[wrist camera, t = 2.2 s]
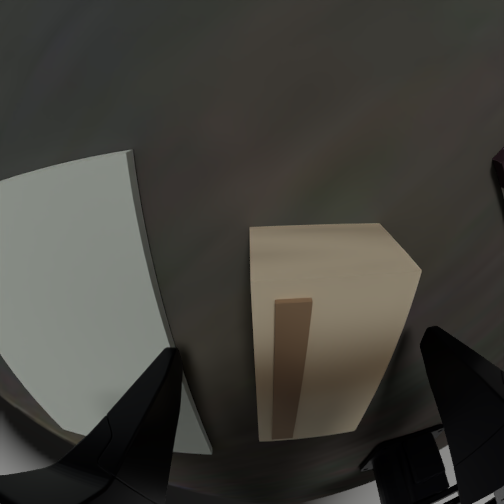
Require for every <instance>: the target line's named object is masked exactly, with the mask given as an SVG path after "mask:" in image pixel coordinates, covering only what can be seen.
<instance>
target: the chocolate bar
mask: <svg viewBox="0 0 504 504" xmlns="http://www.w3.org/2000/svg"><path fill="white" fill-rule="evenodd" d="M492 160H493V163H494V166H495V169H496V172H497V175H498V179H499V182H500V186H501V189H502V193H503V197H504V147H503V148H502V149H501V150H500V151H499V152H498V153H497V155H496V156H495V157H494V158H493V159H492Z"/></svg>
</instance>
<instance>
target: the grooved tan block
mask: <svg viewBox="0 0 504 504" xmlns="http://www.w3.org/2000/svg"><path fill="white" fill-rule="evenodd" d="M421 272H422V270H421V269H420V268H419V267H418V265H417V264H416V263H415V262H414V261H413V260H412V258H411V257H410V256H409V255H408V254H407V253H406V252H405V251H404V249H403V248H402V247H401V246H400V245H399V244H398V243H397V242H396V241H395V239H394V238H393V237H392V236H391V235H390V234H389V233H388V232H387V231H386V230H385V229H384V228H383V227H382V226H381V225H380V223H370V224H325V225H292V226H265V227H250V281H251V300H252V320H253V339H254V357H255V376H256V395H257V413H258V431H259V442H261V441H280V440H292V439H302V438H311V437H319V436H327V435H333V434H339V433H345V432H351V431H355V430H356V428H357V426H358V424H359V423H360V421H361V419H362V417H363V415H364V413H365V412H366V410H367V408H368V406H369V404H370V402H371V400H372V398H373V396H374V394H375V392H376V390H377V388H378V386H379V384H380V382H381V379H382V377H383V375H384V373H385V371H386V369H387V366H388V364H389V362H390V359H391V357H392V355H393V352H394V350H395V347H396V345H397V343H398V340H399V337H400V335H401V332H402V330H403V327H404V324H405V322H406V319H407V316H408V313H409V310H410V307H411V304H412V301H413V298H414V295H415V292H416V289H417V286H418V282H419V279H420V275H421Z"/></svg>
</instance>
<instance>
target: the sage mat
mask: <svg viewBox="0 0 504 504" xmlns="http://www.w3.org/2000/svg"><path fill="white" fill-rule="evenodd" d="M166 347H175V344H174V341H173V337H172V334H171V331H170V327H169V324H168V320H167V317H166V313H165V309H164V306H163V302H162V298H161V294H160V290H159V286H158V282H157V278H156V274H155V270H154V266H153V261H152V257H151V252H150V248H149V243H148V238H147V233H146V228H145V223H144V218H143V213H142V207H141V201H140V195H139V189H138V183H137V176H136V170H135V162H134V155H133V149H132V150H126V151H120V152H114V153H109V154H103V155H98V156H93V157H88V158H84V159H79V160H75V161H70V162H66V163H62V164H58V165H54V166H50V167H46V168H42V169H38V170H35V171H31V172H28V173H24V174H21V175H18V176H14V177H11V178H8V179H5V180H2V181H0V354H1V356H2V357H3V358H4V360H5V361H6V363H7V364H8V366H9V367H10V368H11V370H12V371H13V372H14V374H15V375H16V376H17V378H18V379H19V380H20V381H21V383H22V384H23V385H24V386H25V388H26V389H27V390H28V391H29V393H30V394H31V395H32V396H33V397H34V398H35V400H36V401H37V402H38V403H39V404H40V405H41V406H42V407H43V409H44V410H45V411H46V412H47V413H48V414H49V415H50V416H51V417H52V418H53V419H54V420H55V421H56V422H57V423H58V424H59V425H60V426H61V427H62V428H63V429H65V430H68V431H71V432H75V433H78V434H82V435H85V436H86V435H88V434H89V433H90V432H91V431H92V430H93V428H94V427H95V426H96V425H97V424H98V423H99V422H100V421H101V420H102V419H103V417H104V416H107V413H108V412H109V411H110V410H111V408H112V407H113V406H114V405H115V404H116V403H117V402H118V401H119V399H120V398H121V397H122V396H123V395H124V394H125V393H126V391H127V390H128V389H129V388H130V387H131V386H132V385H133V384H134V382H135V381H136V380H137V379H138V378H139V377H140V376H141V374H142V373H143V372H144V371H145V370H146V369H147V368H148V367H149V365H150V364H151V363H152V362H153V361H154V360H155V359H156V357H157V356H158V355H159V354H160V353H161V352H162V351H163V350H164V348H166ZM173 452H181V453H193V454H210V455H212V446H211V444H210V441H209V439H208V436H207V434H206V432H205V429H204V427H203V424H202V421H201V419H200V416H199V414H198V411H197V408H196V406H195V403H194V400H193V398H192V395H191V392H190V389H189V386H188V384H187V381H186V378H185V375H184V372H183V377H182V392H181V407H180V414H179V419H178V425H177V430H176V436H175V442H174V448H173Z"/></svg>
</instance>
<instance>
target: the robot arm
mask: <svg viewBox="0 0 504 504" xmlns="http://www.w3.org/2000/svg"><path fill="white" fill-rule="evenodd" d="M420 349H421V353H422V356H423V360H424V364H425V368H426V372H427V376H428V380H429V383H430V386H431V389H432V392H433V395H434V398H435V401H436V404H437V407H438V410H439V414H440V417H441V420H442V424H441V425H439V426H436V427H433V428H431V429H428V430H425V431H422V432H419V433H416V434H413V435H410V436H406V437H403V438H400V439H396V440H393V441H389V442H385V443H382V444H380V445H379V446H378V447H377V448H376V449H375V450H374V452H373V453H372V454H371V455H370V456H369V457H368V459H367V460H366V461H365V462H364V463H363V464H362V465H361V466H360V471H366V470H370V469H373V471H374V475H375V479H376V483H377V488H378V492H379V497H380V502H381V504H433V503H435V502H438V501H440V500H442V499H444V498H446V497H448V496H449V495H452V494H454V493H455V492H458V495H459V496H457V497H456V498H454V499H452V500H450V501H448V502H445V503H444V504H472V503H474V502H476V501H478V500H480V499H482V498H484V497H486V496H487V495H489V494H491V493H493V492H494V495H495V497H494V498H492V499H491V500H489V501H488V502H486V503H485V504H504V371H502V370H500V369H499V368H498V367H496V366H495V365H494V364H492V363H491V362H489V361H488V360H487V359H485V358H484V357H482V356H481V355H479V354H478V353H477V352H475V351H474V350H472V349H471V348H469V347H468V346H466V345H465V344H463V343H462V342H460V341H459V340H458V339H456V338H455V337H453V336H452V335H450V334H449V333H447V332H446V331H444V330H443V329H441V328H440V327H438V326H432V327H428V328H427V329H426V331H425V333H424V336H423V338H422V340H421V343H420ZM182 377H183V363H182V360H181V356H180V353H179V350H178V349H177V348H176V347H166V348H164V350H163V351H162V352H161V353H160V354H159V355H158V356H157V357H156V359H155V360H154V361H153V362H152V363H151V364H150V365H149V367H148V368H147V369H146V370H145V371H144V372H143V373H142V374H141V376H140V377H139V378H138V379H137V380H136V381H135V382H134V384H133V385H132V386H131V387H130V388H129V389H128V390H127V391H126V393H125V394H124V395H123V396H122V397H121V398H120V399H119V401H118V402H117V403H116V404H115V405H114V406H113V407H112V408H111V410H110V411H109V412H108V413H107V416H104V417H103V419H102V420H101V421H100V422H99V423H98V424H97V425H96V426H95V427H94V428H93V430H92V431H91V432H90V433H89V434H88V435H86V436H85V437H84V438H83V439H82V440H81V441H80V442H79V443H78V444H77V445H76V446H74V447H73V448H72V449H71V450H70V451H69V452H68V453H67V454H65V455H64V456H63V457H62V458H61V459H60V460H58V461H57V462H56V463H54V464H52V465H51V466H48V467H46V468H42V469H37V470H33V471H27V472H21V473H16V474H9V475H0V504H165V499H166V492H167V486H168V479H169V473H170V466H171V460H172V454H173V448H174V442H175V436H176V430H177V425H178V419H179V414H180V407H181V392H182ZM443 430H444V431H445V434H446V438H447V442H448V445H449V449H450V453H451V457H452V461H453V466H454V471H455V476H456V480H457V484H456V485H454V486H452V487H450V488H449V483H448V480H447V477H446V474H445V467H444V464H443V461H442V458H441V455H440V453H439V450H438V447H437V444H436V442H435V438H436V437H437V436H438V435H439V434H440V433H441V432H442V431H443Z"/></svg>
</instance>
